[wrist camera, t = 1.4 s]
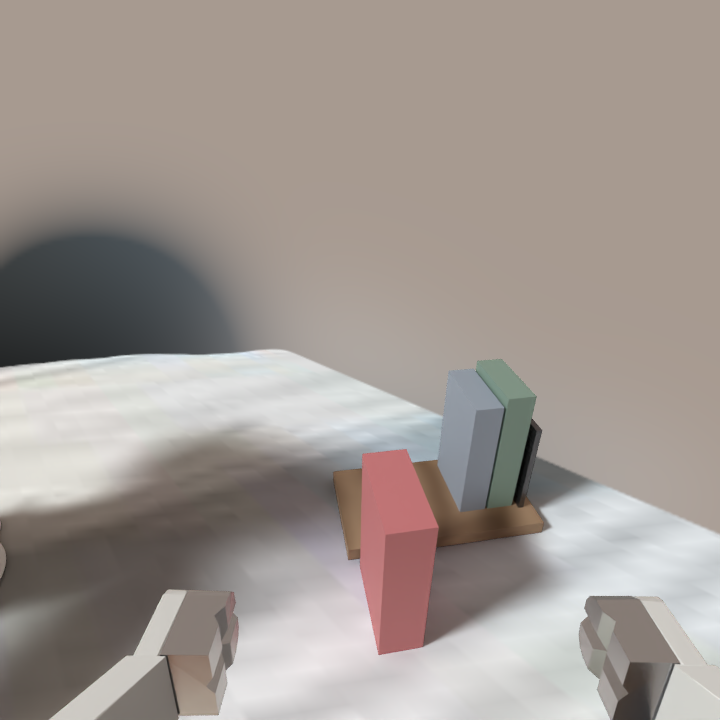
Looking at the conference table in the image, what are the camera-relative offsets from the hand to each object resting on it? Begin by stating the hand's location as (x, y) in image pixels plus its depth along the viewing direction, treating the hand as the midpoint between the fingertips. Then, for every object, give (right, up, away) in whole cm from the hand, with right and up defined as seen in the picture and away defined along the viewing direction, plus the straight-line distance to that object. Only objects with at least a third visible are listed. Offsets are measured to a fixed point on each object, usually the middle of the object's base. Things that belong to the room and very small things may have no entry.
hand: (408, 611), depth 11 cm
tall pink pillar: (+2, -18, +34) cm, 39 cm away
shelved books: (+13, -9, +47) cm, 49 cm away
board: (+7, -12, +46) cm, 48 cm away
